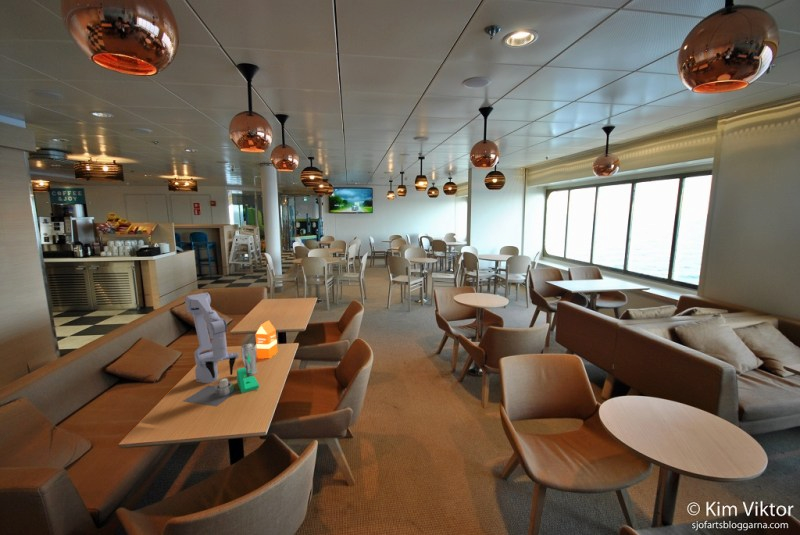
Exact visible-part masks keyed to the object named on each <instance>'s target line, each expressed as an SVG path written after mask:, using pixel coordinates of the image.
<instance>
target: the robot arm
mask: <svg viewBox="0 0 800 535" xmlns="http://www.w3.org/2000/svg"><path fill="white" fill-rule="evenodd" d="M211 302H212V298H211V295H210V294H209V293H208V292H207V291H206V292H203V293H202V292H201V293H198V294H190V295H186V296H185V298H184V305H185V308H186V309H185V310H186V311H187V313H188V314H191V315H192V318H193V322H194V327H195V331H196V336H197V339H198V344H199V346H198V348H196V350H194V353H193V354H194V361H195V366H196V367H195V369H194V374H195V380H196V382H197V383H203V384H210V383H214V382H216V381H217V380H219V371H218V363H219V362H222V361H226V360H228V363H229V375H230V376H232V375H233V373H234V372H233V370H234V366H235V363H236V359H239V358H240V354H239V352H228V346H227V345H228V344H227V336H226V334H227V333H226V332H227V331H228V324H227V322H226V320H225V319H224V318H221V317H220V315H219V314H218V313H217V311H216V310H214V309H212V307H211ZM210 339H211V340H210Z"/></svg>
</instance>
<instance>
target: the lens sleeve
mask: <svg viewBox="0 0 800 535" xmlns="http://www.w3.org/2000/svg"><path fill="white" fill-rule="evenodd" d="M214 386H215V395H216V396H217V397H225V396H228V395H230V394H232V393H233V391H234V389H235V388H234V383H233V382H232V381H228V387H226V388H222V389H220V388H219V383H218V384H217V385H214Z"/></svg>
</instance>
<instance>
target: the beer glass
mask: <svg viewBox="0 0 800 535" xmlns="http://www.w3.org/2000/svg"><path fill="white" fill-rule="evenodd" d="M240 347H241V359H242V362H243V367H245V369H246V374H247V376H246V377H250V376H254V375H256V374H257V373H258V369H257V358H258V356H257V347H256V343H245V344H243V345H241V346H240Z"/></svg>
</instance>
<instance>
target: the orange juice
mask: <svg viewBox="0 0 800 535" xmlns="http://www.w3.org/2000/svg"><path fill="white" fill-rule="evenodd" d="M254 334H255V342H256V343H255V346H256V353H257V359H264V358H270V359H271V358H273V357H274V356H275V355H277V354H278V353H277V352H278V340H277V332H276V328H275V326H274V325H273V324H272V323H271V321H270V320H267V321H265V322H264V323H261V324H260V326H259V328H258V329H257V331H256V333H254ZM276 353H277V354H276ZM273 355H274V356H273ZM272 356H273V357H272Z"/></svg>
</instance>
